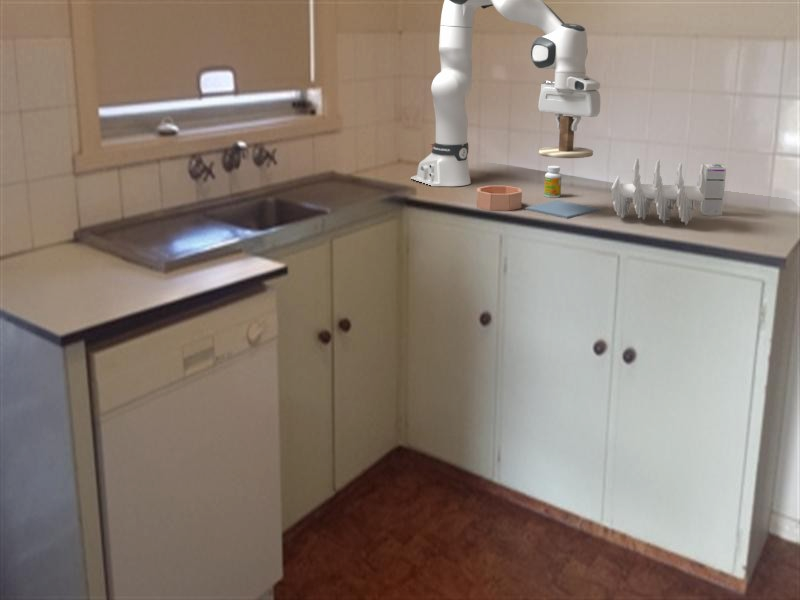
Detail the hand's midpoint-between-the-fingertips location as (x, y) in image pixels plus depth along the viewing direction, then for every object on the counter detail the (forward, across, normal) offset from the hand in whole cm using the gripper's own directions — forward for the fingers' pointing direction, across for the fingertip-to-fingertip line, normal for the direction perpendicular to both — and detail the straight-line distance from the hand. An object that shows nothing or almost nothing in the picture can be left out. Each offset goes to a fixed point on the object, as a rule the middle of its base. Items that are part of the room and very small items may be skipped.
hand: (567, 130), depth 258 cm
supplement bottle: (+24, -15, +14) cm, 32 cm away
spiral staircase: (+25, +27, +9) cm, 38 cm away
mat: (+24, 0, 0) cm, 24 cm away
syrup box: (+25, +33, +29) cm, 50 cm away
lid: (+7, 0, 0) cm, 7 cm away
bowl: (+24, -17, -10) cm, 31 cm away
